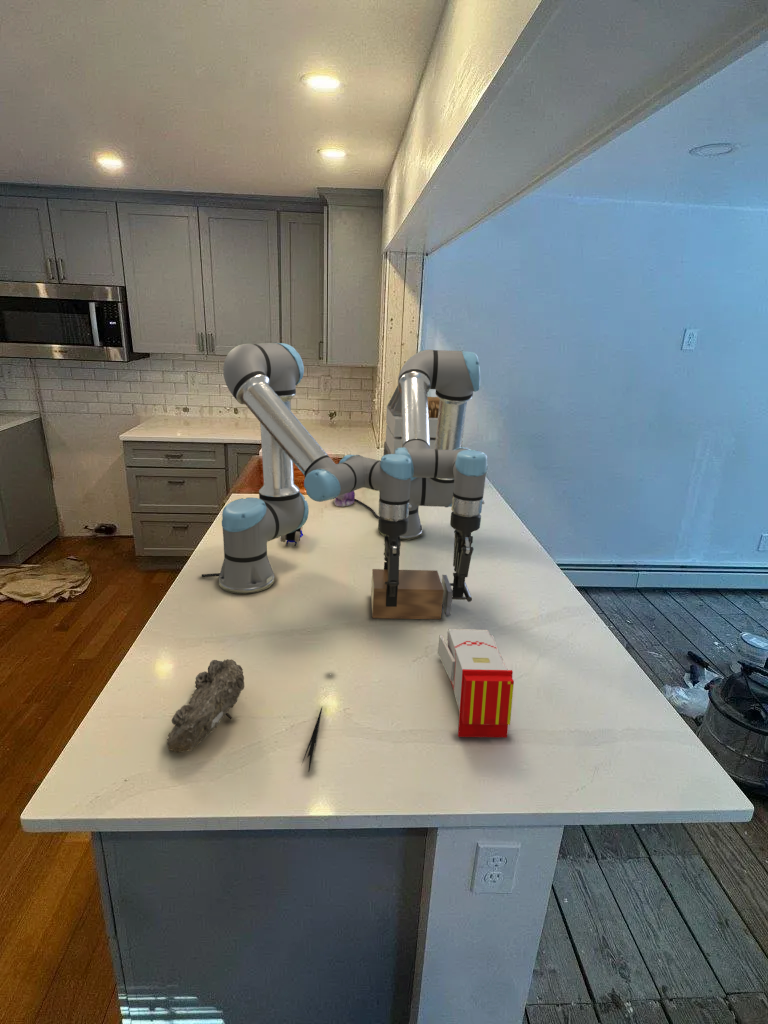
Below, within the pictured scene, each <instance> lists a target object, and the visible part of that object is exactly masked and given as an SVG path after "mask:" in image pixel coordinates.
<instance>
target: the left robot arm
mask: <svg viewBox="0 0 768 1024" xmlns="http://www.w3.org/2000/svg"><path fill="white" fill-rule="evenodd" d="M222 366H223V367H222V372H223V379H224V382H225V385H226V387H227V389H228V391H229V392H230V394H231V395H232V397H233V398H234V399H235V400H236V402H238V404H240V405H245V406H246V407H247V408H248V409H249V410H250V412H251V413H252V415H254V417H255V418H256V419H257V420H258V422H259V427H260V441H261V458H262V474H263V475H262V476H263V485H262V486H261V487H260V489H259V490H258V497H246V498H238V499H235V500H233V501H230V502H229V503H227V504H226V505H225V506H224V507H223V509H222V512H221V513H222V514H221V527H222V541H223V542H222V543H223V557H224V558H223V561H222V565H221V568H220V572H215V573H213V572H212V573H202V574H201V575H200V577H201V578H214V577H216V578H217V577H218V585H219V587H220V589H222V590H223V591H225V592H227V593H232V594H237V595H248V594H256V593H259V592H262V591H265V590H267V589H269V588H270V587H272V586H273V584H274V583H275V572H274V570H273V567H272V564H271V561H270V559H269V557H268V542H270V541H273V540H276V539H278V538H281V536H283V535H286V534H288V533H292V532H294V531H296V530H297V529H299V528H301V527H303V526H304V525H305V524H306V523H307V520H308V517H309V512H310V511H309V503H308V501H307V500H305V499H306V497H305V496H304V494H303V493H302V492H301V490H300V487H299V486H298V485H296V484H295V475H294V473H295V472H294V465H295V467H297V469H298V470H299V471H300V472H301V473H302V475H303V476H305V477H304V480H303V487H304V489H305V491H306V492H305V493H306V495H307V496H308V497H309V498H310V500H311V501H312V500H313V501H314V502H318V503H322V502H327V501H331V500H335V498H336V497H338V496H340V495H343V494H346V493H349V492H352V491H354V492H355V491H357V490H360V489H368V490H372V491H378V492H379V495H378V496H379V499H378V514H377V515H378V516H379V519H378V523H377V524H378V525H377V530H378V533H379V534H380V533H382V534H384V535H386V536H383V542H384V551H383V555H384V557H383V560H384V564H383V569H388V581H387V582H385V584H387V591H386V607H397V592H398V585H399V570H400V555H401V546H402V540H400V535H404V534H406V533H407V531H408V518H407V517H408V515H409V509H408V508H411V507H412V506H411V504H409V498H410V497H409V496H410V483H411V477H412V473H411V460H410V458H409V457H407V456H405V455H401V454H387V455H384V454H383V455H382V456H381V458H380V460H379V459H376V458H370V457H367V456H363V455H360V454H351V453H350V454H345V455H344V456H343V457H342V458H341V459H340V460H339V461H338V463H335V461H334V460H333V459H332V458H331V457H330V455H328V453H327V452H326V450H325V449H323V447H322V446H321V445H320V444H319V442H318V441H317V440H316V439H315V438H314V437H313V435H312V434H311V433H310V432H309V431H308V430H307V428H306V427H305V426H304V425H303V424H302V422H301V421H300V420H299V419H298V418H297V416H296V415H295V414H294V413H293V412H292V404H291V403H292V402H291V401H292V400H293V398H294V397H295V396H296V395H297V390H296V389H297V387H296V386H298V385H299V384H300V383H301V381H302V379H303V378H304V373H305V367H304V362H303V360H302V357H301V354H300V353H299V351H297V350H296V349H295V347H294V346H292V345H290V344H289V343H284V342H263V343H242V344H239V345H237V346H235V347H233V348H232V349H231V350H229V352H228V353H227V355H226V356H225V359H224V361H223V365H222Z"/></svg>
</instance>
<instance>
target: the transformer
mask: <svg viewBox="0 0 768 1024" xmlns="http://www.w3.org/2000/svg"><path fill="white" fill-rule="evenodd" d="M439 402H440V399H439V398H438V397H437V396H428V418H429V440H430V449H435V440H436V431H437V421H438V411H439ZM385 414H386V415H385V423H386V428H385V438H384V442H383V456H384V455H387V454H395V450H396V449H397V448H402V394H401V392H400V391H399V389H398V385H397V386H396V388H395V390H394V392H393V394H392V395H391V398H390V400H389V402H388V404H387V405H386V413H385ZM464 422H465V420H464ZM464 429H465V426H464V427H463V433H464V431H465V430H464ZM463 438H464V434H463V435H462V439H463ZM463 442H464V441H463V440H462V443H461V447H463Z"/></svg>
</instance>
